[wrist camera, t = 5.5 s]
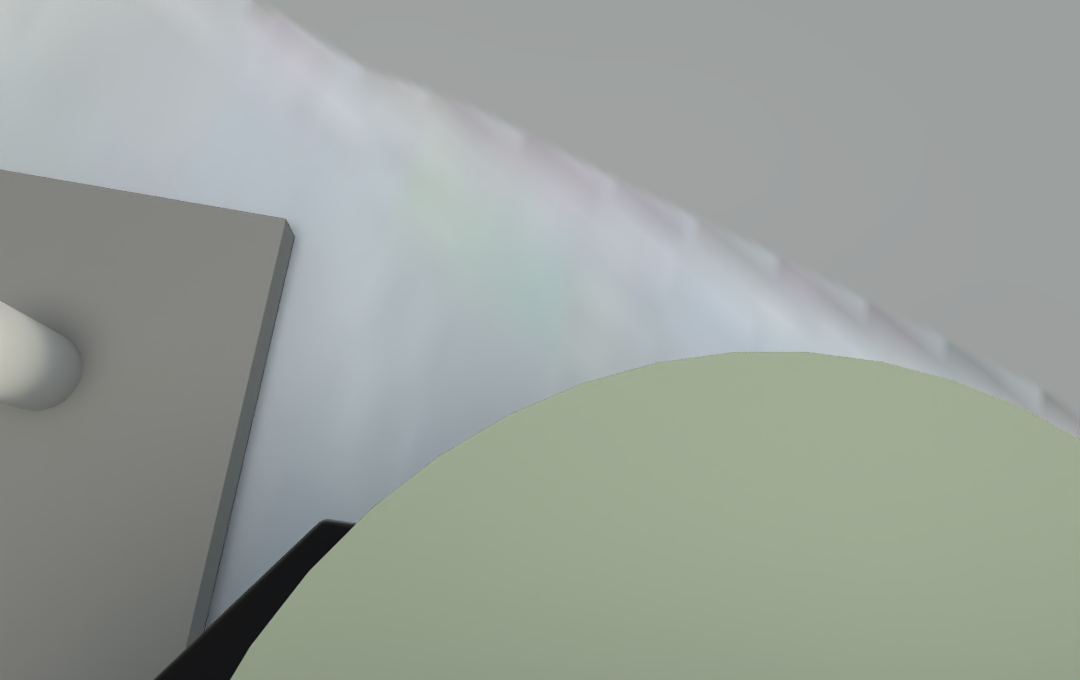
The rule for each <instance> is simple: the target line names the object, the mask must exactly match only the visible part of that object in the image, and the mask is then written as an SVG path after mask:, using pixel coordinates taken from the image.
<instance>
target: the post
mask: <svg viewBox="0 0 1080 680" xmlns="http://www.w3.org/2000/svg"><path fill="white" fill-rule="evenodd" d="M230 680H1080V439H1078V438H1076V437H1075V436H1073V435H1071V434H1069V433H1067V432H1065V431H1064V430H1062V429H1060V428H1058V427H1056V426H1055V425H1053V424H1051V423H1049V422H1047V421H1045V420H1044V419H1042V418H1040V417H1038V416H1036V415H1034V414H1033V413H1031V412H1029V411H1027V410H1025V409H1023V408H1021V407H1018V406H1016V405H1013V404H1011V403H1008V402H1006V401H1003V400H1001V399H998V398H996V397H993V396H991V395H988V394H986V393H983V392H981V391H978V390H976V389H973V388H971V387H968V386H966V385H963V384H961V383H958V382H956V381H953V380H949V379H945V378H941V377H938V376H934V375H930V374H926V373H922V372H919V371H915V370H911V369H907V368H903V367H900V366H896V365H892V364H888V363H884V362H879V361H871V360H864V359H856V358H848V357H841V356H833V355H825V354H818V353H810V352H732V353H725V354H717V355H710V356H702V357H695V358H688V359H680V360H673V361H665V362H658V363H654V364H651V365H647V366H644V367H640V368H636V369H633V370H629V371H625V372H622V373H618V374H614V375H611V376H607V377H603V378H600V379H596V380H592V381H589V382H585V383H582V384H580V385H578V386H575V387H573V388H571V389H568V390H566V391H563V392H561V393H559V394H556V395H554V396H552V397H549V398H547V399H545V400H542V401H540V402H537V403H535V404H533V405H530V406H528V407H526V408H523V409H521V410H519V411H516V412H514V413H511V414H510V415H508V416H506V417H504V418H503V419H501V420H499V421H498V422H496V423H494V424H493V425H491V426H489V427H487V428H486V429H484V430H482V431H481V432H479V433H477V434H476V435H474V436H472V437H470V438H469V439H467V440H465V441H464V442H462V443H460V444H459V445H457V446H455V447H453V448H452V449H450V450H448V451H447V452H445V453H443V454H442V455H440V456H439V457H437V458H436V459H435V460H433V461H432V462H431V463H430V464H428V465H427V466H426V467H424V468H423V469H422V470H421V471H419V472H418V473H417V474H415V475H414V476H413V477H412V478H410V479H409V480H408V481H406V482H405V483H404V484H403V485H401V486H400V487H399V488H397V489H396V490H395V491H394V492H392V493H391V494H390V495H388V496H387V497H386V498H384V499H383V500H382V501H381V502H379V503H378V504H377V505H375V506H374V507H373V508H372V509H371V510H370V511H369V512H368V513H367V514H366V515H365V516H364V517H363V518H362V519H361V520H360V521H359V522H358V523H357V524H356V525H355V526H354V527H353V528H352V529H351V530H350V531H349V532H348V533H347V534H346V535H345V536H344V537H343V538H342V539H341V540H340V541H339V542H338V543H337V544H336V545H335V546H334V547H333V548H332V549H331V550H330V551H329V552H328V553H327V554H326V555H325V556H324V557H323V558H322V559H321V560H320V561H319V562H318V563H317V564H316V565H315V566H314V567H313V568H312V569H311V570H310V571H309V572H308V573H307V574H306V576H305V577H304V578H303V580H302V581H301V582H300V583H299V585H298V586H297V587H296V589H295V590H294V591H293V592H292V594H291V595H290V596H289V597H288V599H287V600H286V601H285V603H284V604H283V605H282V606H281V608H280V609H279V610H278V612H277V613H276V614H275V615H274V617H273V618H272V619H271V621H270V622H269V623H268V624H267V626H266V627H265V628H264V630H263V631H262V632H261V633H260V635H259V636H258V637H257V639H256V640H255V641H254V642H253V644H252V645H251V646H250V648H249V650H248V651H247V653H246V655H245V656H244V658H243V660H242V661H241V663H240V664H239V666H238V668H237V669H236V671H235V673H234V674H233V676H232V678H231V679H230Z"/></svg>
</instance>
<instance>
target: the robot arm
mask: <svg viewBox="0 0 1080 680" xmlns="http://www.w3.org/2000/svg"><path fill="white" fill-rule="evenodd" d="M355 525H356V523H351V522H344V521H337V520H330V519H325V520H322V521H321V522H319V523H318V524H317V525H316V526H315V527H314V528H313V529H312V530H311V531H309V532H308V533H307V534H306V535H305V536H304V537H303V538H302V539H301V540H300V541H299V542H298V543H297V544H296V545H295V546H294V547H293V548H292V549H290V550H289V551H288V552H287V553H286V554H285V555H284V556H283V557H282V558H281V559H280V560H279V561H278V562H277V563H276V564H275V565H274V566H273V567H271V568H270V569H269V570H268V571H267V572H266V573H265V574H264V575H263V576H262V577H261V578H260V579H259V580H258V581H257V582H256V583H255V584H254V585H253V586H251V587H250V588H249V589H248V590H247V591H246V592H245V593H244V594H243V595H242V596H241V597H240V598H239V599H238V600H237V601H236V602H235V603H234V604H232V605H231V606H230V607H229V608H228V609H227V610H226V611H225V612H224V613H223V614H222V615H221V616H220V617H219V618H218V619H217V620H216V621H215V622H213V623H212V624H211V625H210V626H209V627H208V628H207V629H206V630H205V631H204V632H203V633H202V634H201V635H200V636H199V637H198V638H197V639H196V640H195V641H193V642H192V643H191V644H190V645H189V646H188V647H187V648H186V649H185V650H184V651H183V652H182V653H181V654H180V655H179V656H178V657H177V658H176V659H174V660H173V661H172V662H171V663H170V664H169V665H168V666H167V667H166V668H165V669H164V670H163V671H162V672H161V673H160V674H159V675H158V676H157V677H155V678H154V679H153V680H230V679H231V678H232V676H233V674H234V673H235V671H236V669H237V668H238V666H239V664H240V663H241V661H242V660H243V658H244V656H245V655H246V653H247V651H248V650H249V648H250V646H251V645H252V644H253V642H254V641H255V640H256V639H257V637H258V636H259V635H260V633H261V632H262V631H263V630H264V628H265V627H266V626H267V624H268V623H269V622H270V621H271V619H272V618H273V617H274V615H275V614H276V613H277V612H278V610H279V609H280V608H281V606H282V605H283V604H284V603H285V601H286V600H287V599H288V597H289V596H290V595H291V594H292V592H293V591H294V590H295V589H296V587H297V586H298V585H299V583H300V582H301V581H302V580H303V578H304V577H305V576H306V574H307V573H308V572H309V571H310V570H311V569H312V568H313V567H314V566H315V565H316V564H317V563H318V562H319V561H320V560H321V559H322V558H323V557H324V556H325V555H326V554H327V553H328V552H329V551H330V550H331V549H332V548H333V547H334V546H335V545H336V544H337V543H338V542H339V541H340V540H341V539H342V538H343V537H344V536H345V535H346V534H347V533H348V532H349V531H350V530H351V529H352V528H353V527H354V526H355Z"/></svg>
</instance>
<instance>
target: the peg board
mask: <svg viewBox="0 0 1080 680" xmlns="http://www.w3.org/2000/svg"><path fill="white" fill-rule="evenodd" d="M294 237H295V236H294V234H293V232H292V230H291V228H290V226H289V224H288V222H287V220H286V219H284V218H278V217H272V216H266V215H260V214H255V213H249V212H243V211H237V210H231V209H226V208H220V207H214V206H208V205H202V204H197V203H191V202H185V201H179V200H173V199H167V198H162V197H156V196H150V195H144V194H138V193H133V192H127V191H121V190H115V189H109V188H104V187H98V186H92V185H86V184H80V183H75V182H69V181H63V180H57V179H51V178H46V177H40V176H34V175H28V174H22V173H16V172H11V171H5V170H0V680H153V679H154V678H155V677H157V676H158V675H159V674H160V673H161V672H162V671H163V670H164V669H165V668H166V667H167V666H168V665H169V664H170V663H171V662H172V661H173V660H174V659H176V658H177V657H178V656H179V655H180V654H181V653H182V652H183V651H184V650H185V649H186V648H187V647H188V646H189V645H190V644H191V643H192V642H193V641H195V640H196V639H197V638H198V637H199V636H200V635H201V634H202V633H203V632H204V628H205V624H206V619H207V615H208V611H209V606H210V602H211V598H212V593H213V589H214V585H215V580H216V576H217V572H218V567H219V563H220V559H221V554H222V550H223V546H224V541H225V537H226V532H227V528H228V524H229V519H230V515H231V511H232V506H233V502H234V498H235V493H236V489H237V485H238V480H239V476H240V472H241V467H242V463H243V459H244V454H245V450H246V445H247V441H248V437H249V432H250V428H251V424H252V419H253V415H254V411H255V406H256V402H257V398H258V393H259V389H260V385H261V380H262V376H263V372H264V367H265V363H266V359H267V354H268V350H269V345H270V341H271V337H272V332H273V328H274V324H275V319H276V315H277V311H278V306H279V302H280V298H281V293H282V289H283V285H284V280H285V276H286V272H287V267H288V263H289V258H290V254H291V250H292V245H293V241H294Z"/></svg>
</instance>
